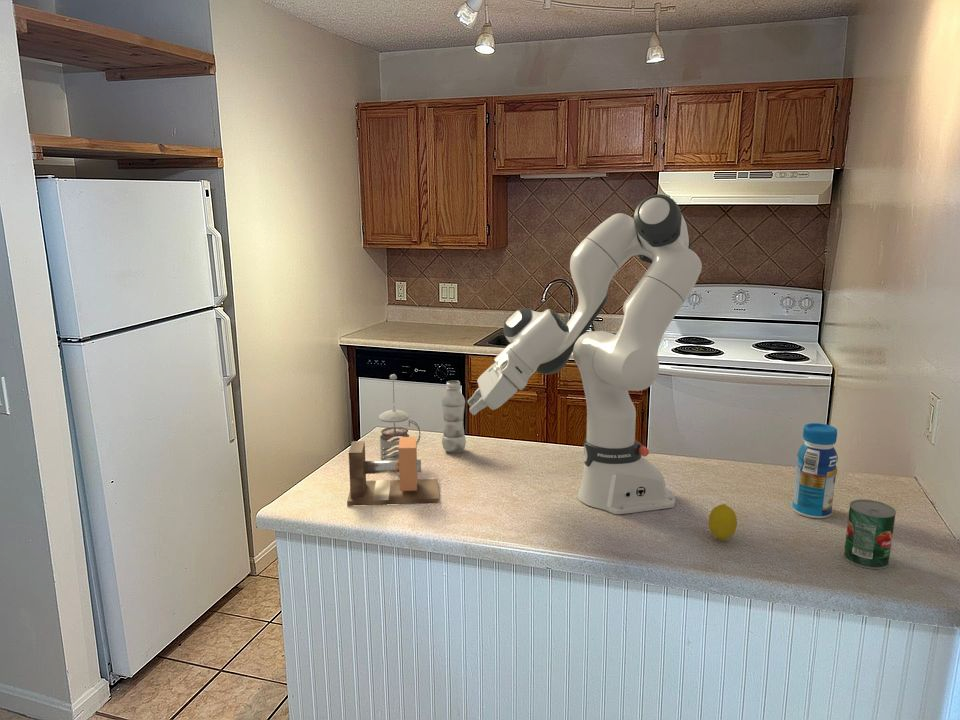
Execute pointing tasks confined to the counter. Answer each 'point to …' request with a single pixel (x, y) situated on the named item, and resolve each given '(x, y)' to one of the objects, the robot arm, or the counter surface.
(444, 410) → the plastic bottle
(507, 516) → the counter surface
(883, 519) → the canned tomato
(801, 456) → the beverage bottle
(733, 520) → the lemon
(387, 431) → the french press
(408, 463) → the collar
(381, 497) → the pipe stand
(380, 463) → the steel pipe
